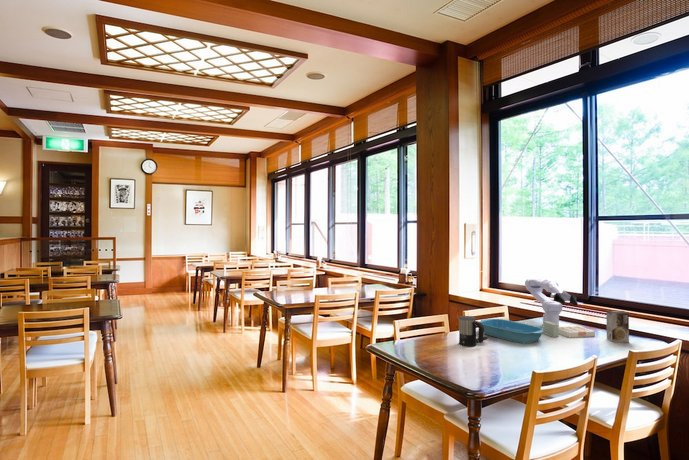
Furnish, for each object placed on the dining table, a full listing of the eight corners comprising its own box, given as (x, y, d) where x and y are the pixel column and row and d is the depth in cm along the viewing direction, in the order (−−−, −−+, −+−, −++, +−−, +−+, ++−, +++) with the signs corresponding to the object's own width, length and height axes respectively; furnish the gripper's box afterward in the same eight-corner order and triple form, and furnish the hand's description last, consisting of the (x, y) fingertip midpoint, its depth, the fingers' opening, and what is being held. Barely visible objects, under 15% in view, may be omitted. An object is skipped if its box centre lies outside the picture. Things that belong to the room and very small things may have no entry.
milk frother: (456, 345, 231) (456, 318, 231) (463, 338, 245) (463, 312, 245) (484, 349, 225) (484, 320, 224) (489, 341, 239) (489, 315, 238)
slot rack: (553, 331, 260) (553, 326, 260) (578, 330, 263) (578, 325, 263) (569, 337, 247) (569, 332, 246) (595, 336, 249) (595, 331, 249)
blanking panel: (543, 332, 258) (543, 321, 258) (547, 332, 259) (547, 320, 259) (553, 337, 248) (553, 325, 248) (558, 336, 249) (558, 324, 249)
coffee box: (622, 339, 243) (623, 310, 243) (629, 342, 237) (629, 313, 236) (605, 338, 244) (606, 310, 244) (611, 341, 238) (611, 312, 237)
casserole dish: (551, 340, 241) (551, 328, 241) (530, 347, 228) (530, 334, 228) (493, 328, 271) (493, 316, 271) (471, 333, 257) (471, 321, 257)
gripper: (549, 285, 262) (560, 295, 249) (572, 289, 263) (584, 298, 250) (546, 296, 264) (556, 306, 251) (568, 299, 265) (580, 309, 252)
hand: (570, 303), depth 250 cm, fingers open, 7 cm apart
